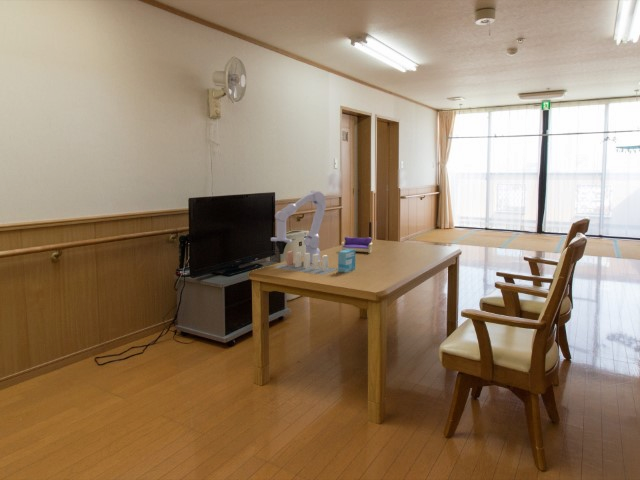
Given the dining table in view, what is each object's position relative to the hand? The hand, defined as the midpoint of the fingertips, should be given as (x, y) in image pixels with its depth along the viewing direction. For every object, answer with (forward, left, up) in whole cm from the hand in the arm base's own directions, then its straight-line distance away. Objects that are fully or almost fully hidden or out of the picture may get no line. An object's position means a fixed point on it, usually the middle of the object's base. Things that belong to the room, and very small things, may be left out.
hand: (281, 253), depth 274 cm
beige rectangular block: (0, +12, -7) cm, 14 cm away
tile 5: (0, +30, -7) cm, 31 cm away
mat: (+1, +18, -7) cm, 19 cm away
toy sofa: (-64, +18, -7) cm, 67 cm away
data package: (-6, +41, -7) cm, 42 cm away
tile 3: (0, +18, -7) cm, 19 cm away
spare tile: (0, +6, -7) cm, 9 cm away
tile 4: (0, +24, -7) cm, 25 cm away
